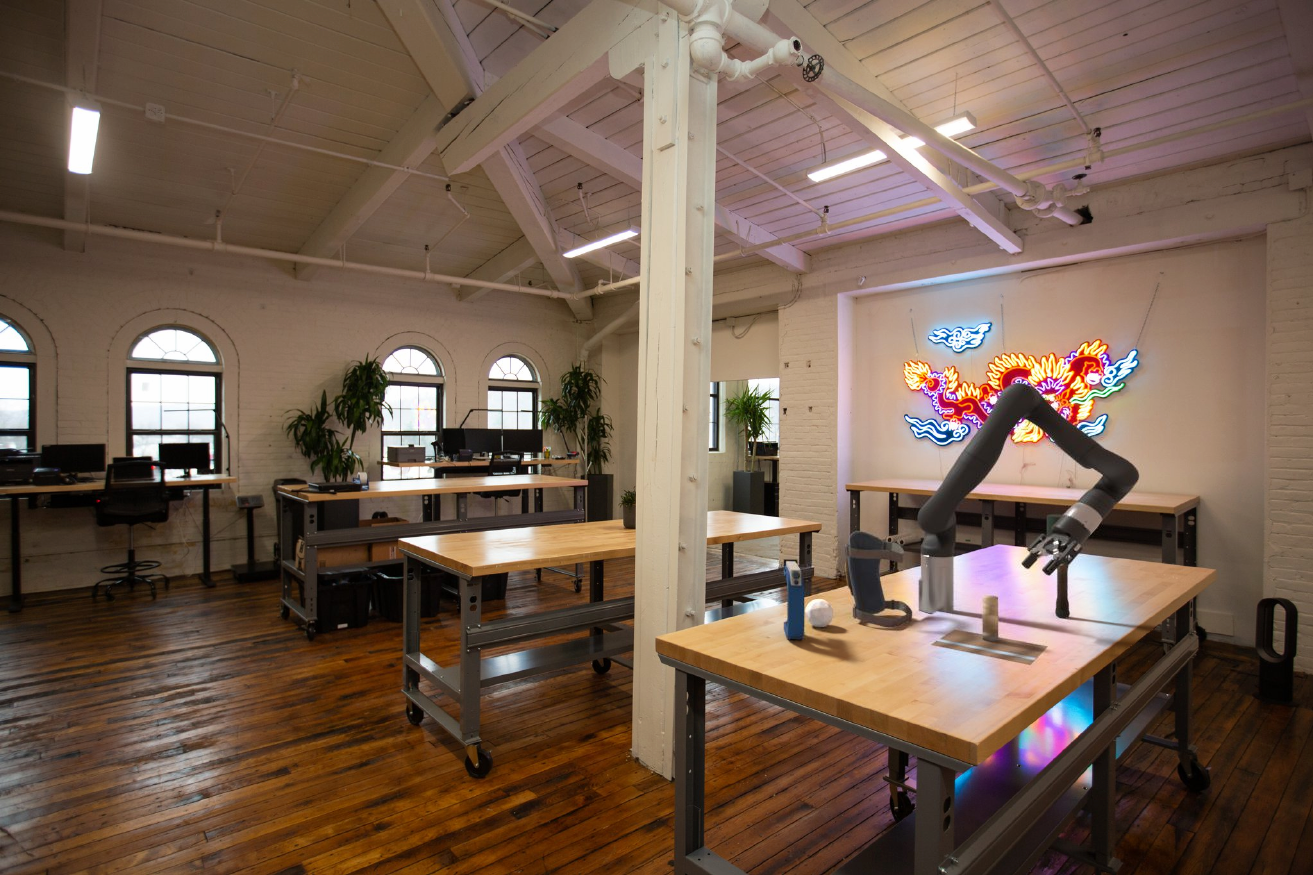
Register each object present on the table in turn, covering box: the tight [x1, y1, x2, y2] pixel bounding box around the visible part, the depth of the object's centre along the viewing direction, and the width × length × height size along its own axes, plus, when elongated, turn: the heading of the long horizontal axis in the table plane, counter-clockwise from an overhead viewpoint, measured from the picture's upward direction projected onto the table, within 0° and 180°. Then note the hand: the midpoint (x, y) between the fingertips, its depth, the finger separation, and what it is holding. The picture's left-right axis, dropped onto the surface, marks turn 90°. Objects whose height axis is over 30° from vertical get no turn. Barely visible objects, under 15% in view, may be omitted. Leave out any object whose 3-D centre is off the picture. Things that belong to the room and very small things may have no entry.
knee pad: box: [843, 530, 913, 629], centre depth 193 cm, size 18×20×25 cm
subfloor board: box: [930, 628, 1048, 666], centre depth 163 cm, size 22×18×2 cm
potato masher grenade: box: [1046, 513, 1071, 619], centre depth 195 cm, size 8×9×30 cm
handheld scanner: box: [783, 558, 805, 640], centre depth 176 cm, size 4×16×19 cm, turn 174°
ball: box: [804, 598, 835, 628], centre depth 185 cm, size 8×8×8 cm
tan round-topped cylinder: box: [981, 594, 999, 642], centre depth 168 cm, size 4×4×11 cm
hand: (1034, 569), depth 168 cm, fingers open, 8 cm apart
